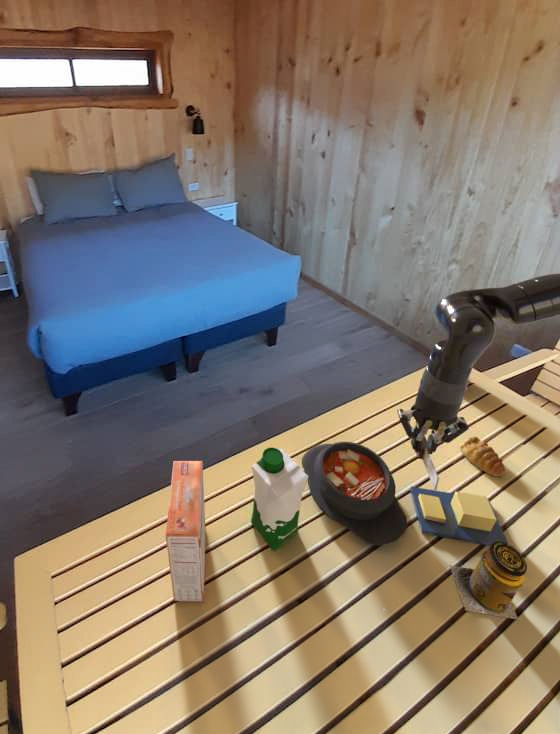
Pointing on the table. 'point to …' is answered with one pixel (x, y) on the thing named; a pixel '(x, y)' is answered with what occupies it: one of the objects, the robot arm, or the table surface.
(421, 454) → the knife
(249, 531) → the table surface
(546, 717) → the table surface
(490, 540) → the butter dish
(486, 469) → the pastry
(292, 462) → the milk carton
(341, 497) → the casserole
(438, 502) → the butter pat
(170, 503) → the cracker box
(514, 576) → the condiment
